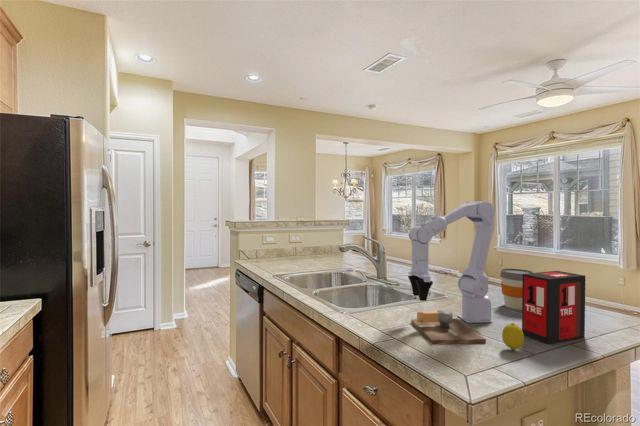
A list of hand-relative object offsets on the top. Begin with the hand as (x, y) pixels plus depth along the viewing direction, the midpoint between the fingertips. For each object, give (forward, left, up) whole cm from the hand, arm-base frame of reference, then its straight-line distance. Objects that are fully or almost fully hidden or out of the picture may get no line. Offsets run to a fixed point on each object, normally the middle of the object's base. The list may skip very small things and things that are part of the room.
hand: (419, 297), depth 120 cm
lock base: (-6, +8, -9) cm, 14 cm away
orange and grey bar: (-3, +6, -6) cm, 9 cm away
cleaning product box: (-39, +13, -10) cm, 43 cm away
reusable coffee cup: (-48, -19, -10) cm, 53 cm away
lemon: (-19, +23, -10) cm, 32 cm away
